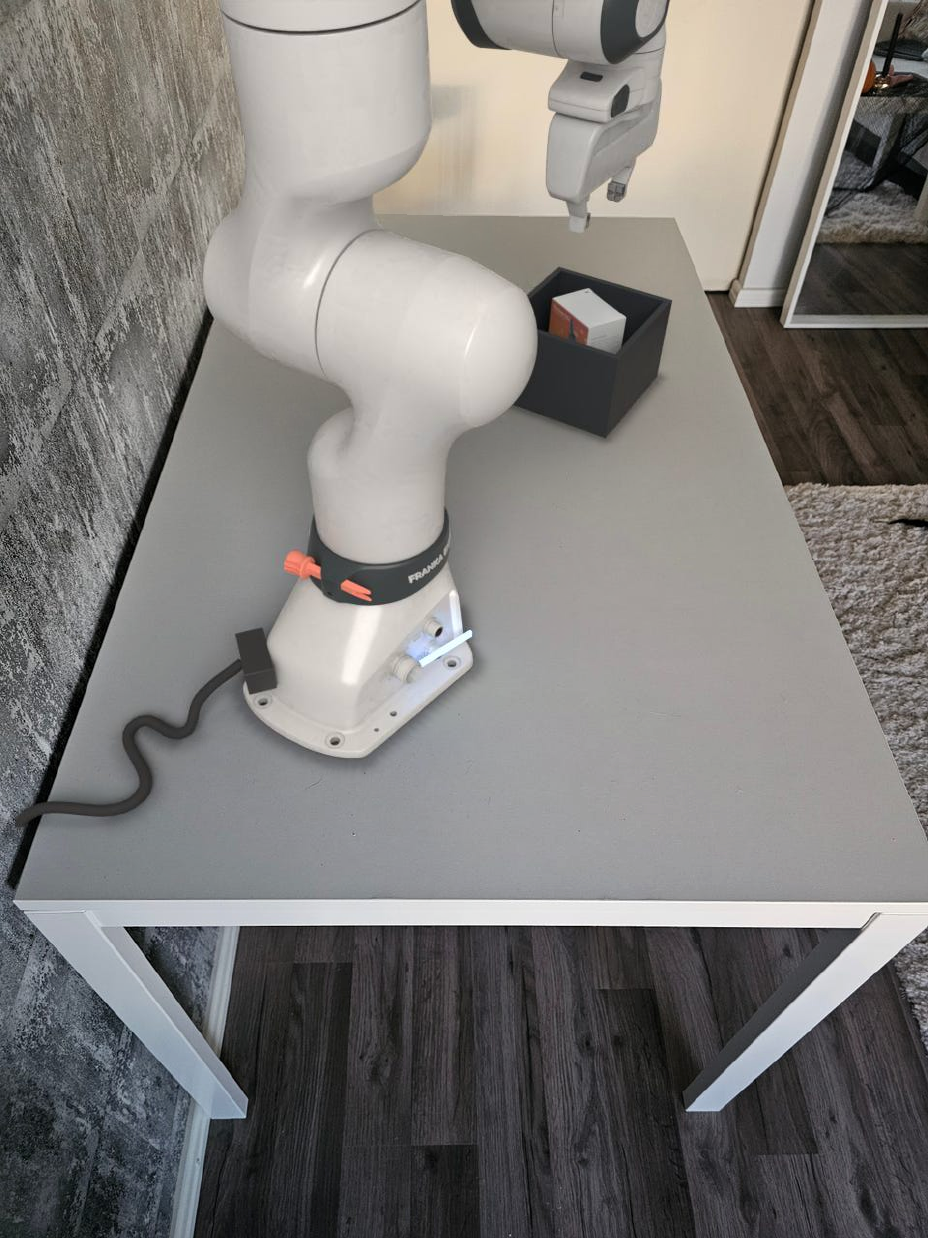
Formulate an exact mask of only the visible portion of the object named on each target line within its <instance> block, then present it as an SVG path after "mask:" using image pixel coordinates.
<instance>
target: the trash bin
mask: <svg viewBox="0 0 928 1238" xmlns="http://www.w3.org/2000/svg"><path fill="white" fill-rule="evenodd" d="M587 288H589V289H590V290H592V291H593V292H594V293H595V294H596V295H597V296H599V297H600V298H601V299H602V300H604V301H605V302H606V303H607V304H609V305H610V306H611V307H613V308H614V309H615V310H616V311H618V312H619V313H621V314H623V315H624V316H625V317H626V322H625V328H624V334H623V339H622V346H621V348H620V350H619V351H618V352H617V353H616V354H612V353H609V352H606V351H603V350H600V349H597V348H594V347H591V346H588V345H585V344H582V343H579V342H576V341H572V340H569V339H566V338H563V337H560V336H557V335H554V334H551V333H548V332H549V323H550V314H551V305H552V299H553V298H555V297H558V296H562V295H565V294H569V293H573V292H576V291H580V290H584V289H587ZM526 295H527V297H528V299H529V301H530V304H531V306H532V309H533V312H534V316H535V320H536V326H537V335H538V342H537V355H536V360H535V364H534V368H533V371H532V374H531V376H530V379H529V381H528V383H527V385H526V387H525V389H524V390H523V392H522V393H521V395H520V396H519V397H518V399H517V400H516V401H515V403H514V404H513V405H512V406H516V407H519V408H522V409H525V410H527V411H530V412H532V413H535V414H538V415H541V416H544V417H546V418H549V419H552V420H555V421H558V422H560V423H563V424H566V425H569V426H571V427H575V428H577V429H580V430H583V431H585V432H588V433H591V434H593V435H597V436H599V437H601V438H604V439H606V438H607V437H608V436H609V435H610V434H611V432H612V431H613V430H614V429H615V428H616V426H618V425H619V423H620V422H621V420H622V419H623V418H624V417H625V416H626V415H627V414H628V412H629V411H630V410H631V409H632V408H633V406H634V405H635V404H636V403H637V402H638V400H639V399H640V398H641V397H642V395H643V394H644V393H645V392H646V391H647V390H648V388H649V387H650V386H651V385H652V383H654V381H655V380H656V379H657V378H658V375H659V374H658V373H659V369H660V364H661V359H662V354H663V350H664V345H665V339H666V335H667V330H668V329H667V328H668V324H669V320H670V314H671V309H672V303H673V300H672V299H670V298H667V297H663V296H660V295H657V294H652V293H649V292H646V291H642V290H639V289H637V288H632V287H630V286H626V285H623V284H619V283H616V282H612V281H609V280H605V279H602V278H598V277H596V276H592V275H589V274H585V273H582V272H579V271H576V270H571V269H569V268H565V267H561V266H558V267H557V268H555V269H554V270H553V271H551V273H550V274H549V275H548V276H546V277H545V278H543V280H542V281H540V282H539V283H538V284H537V285H536V286H535V287H534V288H533V289H531V291H529V292H528V293H527V294H526Z"/></svg>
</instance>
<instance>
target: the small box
mask: <svg viewBox="0 0 928 1238" xmlns="http://www.w3.org/2000/svg"><path fill="white" fill-rule="evenodd" d="M625 322H626V317H625V316H624V315H623V314H621V313H619V312H618V311H616V310H615V309H614V308H613V307H611V306H610V305H609V304H607V303H606V302H605V301H604V300H602V299H601V298H600V297H599V296H597V295H596V294H595V293H594V292H593V291H592V290H590V289H589V288H587V289H584V290H580V291H576V292H573V293H569V294H565V295H562V296H558V297H555V298H553V299H552V305H551V314H550V323H549V332H548V333H551V334H554V335H557V336H560V337H563V338H566V339H569V340H572V341H576V342H579V343H582V344H585V345H588V346H591V347H594V348H597V349H600V350H603V351H606V352H609V353H612V354H616V353H617V352H618V351H619V350H620V348H621V346H622V339H623V334H624V328H625Z"/></svg>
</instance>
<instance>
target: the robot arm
mask: <svg viewBox="0 0 928 1238" xmlns="http://www.w3.org/2000/svg"><path fill="white" fill-rule="evenodd" d="M670 2H671V0H450V5H451V9H452V13H453V16H454V18H455V20H456V22H457V24H458V26H459V28H460V30H461V31H462V33H463V34H464V36H465V37H466V39H467V40H468V41H469V42H470V44H471V45H473V46H474V47H476V48H478V49H487V50H499V51H500V50H501V51H518V52H523V53H528V54H533V55H538V56H539V55H540V56H545V57H549V58H550V57H551V58H554V59H555V58H556V59H561V60H567V62H566V64H565V66H564V67H563V69H562V71H561V72H560V73H559V75H558V76H557V78H556V79H555V81H554V82H553V83H552V84H551V86H550V87H549V90H548V95H547V109H548V110H549V111H551V112H554V114H553V116H552V117H551V120H550V123H549V128H548V135H547V143H546V145H547V146H546V162H545V187H546V191H547V192H548V195H549V196H550V197H551V198H553V199H556V200H559V201H562V202H565V204H566V208H567V211H568V214H569V216H568V217H569V218H568V230H569V231H570V232H571V233H576V234H579V235H580V234H583V233H584V232H585V231H586V230H588V228H589V227H590V220H591V214H592V213H591V212H589V211H588V203H589V201H590V198H591V194H593V192H595V191H596V190H597V189H599V188H600V187H601V186H602V185H604V184H605V183H606V182H608V181H609V180H610V181H609V182H608V183H607V188H606V190H607V192H606V199H607V201H609V202H614V203H616V204H617V203H620V202H621V201H623V200H624V199H625V198H626V196H627V192H628V185H629V182H630V180H631V177H632V175H633V172H634V170H635V167H636V163H637V158H638V157H639V156H641V155H642V154H643V153H645V152H646V151H647V150H648V149H649V148H651V147H652V146H653V144H654V142H655V140H656V137H657V133H658V129H659V123H660V113H661V104H662V92H663V82H662V78H661V76H662V68H663V63H664V56H665V52H666V51H665V50H666V44H667V27H666V19H667V16H668V11H669V7H670ZM217 3H218V7H219V12H220V17H221V18H220V19H221V22H222V26H223V27H222V28H223V31H224V37H225V41H226V47H227V51H228V57H229V61H230V67H231V71H232V77H233V81H234V87H235V93H236V98H237V104H238V109H239V114H240V120H241V126H242V134H243V140H244V152H245V154H244V155H245V169H244V171H245V174H244V183H243V189H242V195H241V197H240V200H239V203H238V204H237V206H236V207H235V208H233V210H231V211H230V212H228V214H227V215H226V216H224V217H223V219H222V220H221V221H220V223H219V224H218V225H217V226H216V227H215V230H214V231H213V233H212V234H211V237H210V239H209V241H208V243H207V246H206V250H205V252H204V257H203V263H202V287H203V288H202V289H203V294H204V298H205V302H206V305H207V308H208V310H209V312H210V314H211V316H212V317H213V319H214V321H216V323H217V324H218V325H219V326H221V327H222V328H223V329H224V330H226V331H227V332H228V333H230V334H231V335H232V336H233V337H235V338H237V339H238V340H239V341H241V343H243V344H244V345H246V346H248V347H250V348H251V349H252V350H254V351H255V352H257V353H258V354H260V355H261V356H263V357H264V358H266V359H268V360H270V361H271V362H272V361H273V362H275V363H278V364H280V365H282V366H285V367H288V368H291V369H293V370H295V371H298V372H300V373H303V374H305V375H308V376H310V377H313V378H316V379H318V380H320V381H322V382H326V383H328V384H331V385H333V386H334V387H336V388H338V389H340V390H342V391H343V392H344V394H345V395H346V396H347V398H348V399H349V401H350V403H351V406H348V407H346V408H344V409H342V410H340V411H338V412H336V413H334V414H333V415H331V416H330V417H329V418H327V419H326V420H325V421H324V422H323V423H322V424H321V426H319V428H318V429H317V431H316V433H315V434H314V436H313V438H312V440H311V442H310V444H309V448H308V451H307V455H306V466H307V473H308V479H309V487H310V493H311V494H310V495H311V500H312V501H311V502H312V507H313V516H312V520H311V525H310V528H309V532H308V543H307V550H306V554H304V553H303V552H302V551H300V550H297V549H293V550H291V551H290V552H289V553H288V554H287V555H286V557H285V560H284V562H283V565H284V566H283V569H284V571H285V572H286V573H289V574H292V575H295V576H298V579H297V581H296V582H295V584H294V586H293V589H292V590H291V592H290V594H289V596H288V597H287V600H286V601H285V603H284V605H283V607H282V609H281V611H280V613H279V614H278V617H277V619H276V620H275V622H274V624H273V626H272V627H271V630H270V632H269V634H268V636H267V639H266V636H265V633H264V628H263V627H257V628H254V629H249V630H245V631H240V632H236V633H235V634H234V636H235V640H236V645H237V649H238V650H237V651H238V653H239V657H240V659H239V658H237V659H236V660H234V661H233V662H231V664H230V665H228V666H227V667H225V668H224V669H223V670H221V671H220V672H218V673H217V674H216V675H214V676H213V677H212V678H211V679H209V680H208V681H207V682H206V683H205V684H204V685H203V686H202V687H201V688H200V689H199V690H198V691H197V692H196V694H195V695H194V697H193V698H192V701H191V702H190V706H189V709H188V713H187V717H186V721H185V723H184V725H183V726H181V727H178V728H177V727H173V726H171V725H169V724H167V723H166V722H164V721H163V720H161V719H159V718H157V717H155V716H153V715H149V714H143V715H138V716H135V717H134V718H132V719H131V720H130V721H129V722H128V723H126V724H125V726H124V728H123V730H122V732H121V734H122V735H121V742H122V747H123V749H124V751H125V753H126V755H127V757H128V758H129V760H130V763H132V765H133V767H134V769H135V770H136V772H137V775H138V778H139V785H138V788H137V790H136V791H135V792H134V793H133V794H131V795H130V796H129V797H128V798H126V799H124V800H122V801H120V802H116V803H109V804H95V803H94V804H93V803H83V802H75V801H62V800H60V801H59V800H52V801H44V802H39V803H36V804H33V805H31V806H29V807H28V808H26V809H24V810H23V811H22V812H21V813H19V815H18V816H17V818H16V820H15V822H14V823H13V825H14V827H15V828H23V827H25V826H26V825H28V824H30V822H31V821H32V820H33V819H35V818H37V817H39V816H42V815H48V814H64V815H74V816H83V817H93V818H95V817H99V818H100V817H101V818H102V817H103V818H105V817H114V816H119V815H123V814H125V813H128V812H130V811H132V810H135V809H136V808H137V807H138V806H139V805H141V804H142V803H143V802H144V801H145V800H146V798H147V797H148V796H149V794H150V792H151V788H152V786H153V785H152V784H153V782H152V774H151V770H150V768H149V766H148V764H147V761H146V760H145V758H144V757H143V755H142V753H141V752H140V750H139V748H138V747H137V744H136V742H135V738H134V735H135V732H137V731H138V729H140V728H141V727H148V728H150V729H152V730H154V731H155V732H157V733H159V734H161V735H162V736H164V737H165V738H168V739H172V740H182V739H185V738H187V737H190V735H191V734H193V732H194V731H195V730H196V728H197V725H198V723H199V718H200V714H201V710H202V708H203V706H204V704H205V702H206V701H207V699H208V698H209V697H210V696H211V695H212V694H213V693H214V692H215V691H216V690H217V689H218V688H220V687H221V686H222V685H223V684H225V683H226V682H227V681H229V680H230V679H232V678H233V677H235V676H236V675H237V674H238V673H240V672H241V671H242V672H243V676H244V679H245V681H244V683H243V685H242V691H243V696H244V699H245V701H246V703H247V705H248V707H249V708H250V710H251V712H252V713H254V715H255V716H256V717H257V718H258V719H259V720H260V721H261V722H263V724H265V725H266V726H268V727H269V728H270V729H272V730H273V731H275V732H276V733H278V734H280V735H281V736H282V737H284V738H286V739H287V740H289V741H291V742H293V743H295V744H297V745H299V746H301V747H303V748H306V749H308V750H310V751H313V752H316V753H320V754H322V755H326V756H330V757H335V758H343V759H362V758H365V757H367V756H368V755H370V754H371V753H372V752H373V751H375V750H376V749H377V748H378V747H380V746H381V745H382V744H383V743H384V742H386V741H387V740H388V739H389V738H390V737H392V736H393V735H394V734H395V733H396V732H397V731H398V730H400V729H401V728H402V727H403V726H405V724H407V723H408V722H410V720H411V719H413V718H414V717H415V716H416V715H418V714H419V713H420V712H421V711H423V710H424V709H425V708H426V707H427V706H428V705H429V704H430V703H431V702H433V701H434V700H435V699H437V698H438V697H439V696H440V695H441V694H442V693H444V691H445V692H446V690H447V689H448V688H450V686H452V685H453V684H454V683H456V681H458V680H459V679H460V678H461V677H462V676H464V675H465V674H466V673H467V672H469V670H470V669H471V668H472V667H473V665H474V657H473V652H472V649H471V647H470V645H469V643H468V642H467V640H468V639H470V638H472V636H473V631H472V630H471V629H470V630H467V631H466V632H464V629H463V628H464V627H463V619H462V609H461V603H460V597H459V592H458V589H457V586H456V583H455V580H454V577H453V574H452V571H451V568H450V565H449V562H448V559H449V555H450V550H451V539H452V532H451V531H452V530H451V526H450V517H449V512H448V510H447V507H446V505H445V496H446V495H445V492H446V476H447V463H448V456H449V454H450V450H451V448H452V447H453V444H454V443H455V441H457V439H458V438H459V437H460V436H462V435H463V434H464V433H466V432H468V431H470V430H473V429H477V428H480V427H483V426H485V425H487V424H490V423H491V422H493V421H495V420H496V419H498V418H500V416H502V415H503V414H504V413H506V412H507V411H508V410H510V408H511V407H512V406H514V405H513V404H514V403H515V401H516V400H517V399H518V397H519V396H520V395H521V393H522V392H523V390H524V389H525V387H526V385H527V383H528V381H529V379H530V376H531V374H532V371H533V368H534V364H535V360H536V355H537V342H538V335H537V326H536V320H535V316H534V312H533V309H532V306H531V304H530V301H529V299H528V297H527V294H526V292H525V291H524V290H523V289H521V287H519V286H517V285H515V284H514V283H513V282H510V281H509V280H508V279H507V278H506V279H505V278H504V277H503V276H501V275H499V274H498V273H496V272H495V271H493V270H491V269H489V268H487V267H486V266H484V265H482V264H480V263H479V262H477V261H475V260H474V259H472V258H470V257H468V256H466V255H462V254H459V253H457V252H453V251H450V250H447V249H444V248H441V247H437V246H434V245H431V244H428V243H424V242H421V241H417V240H414V239H412V238H408V237H406V236H405V237H404V236H402V235H398V234H395V233H392V232H391V231H389V230H388V229H385V228H383V227H382V226H381V224H380V223H379V221H378V218H377V217H376V214H375V210H374V195H375V194H377V193H379V192H381V191H384V190H386V189H387V188H389V187H391V186H392V185H394V184H396V183H398V182H399V181H400V180H402V179H403V178H404V177H405V176H406V175H408V173H410V172H411V171H412V170H413V168H414V167H415V165H417V164H418V162H419V160H420V158H421V156H422V155H423V153H424V151H425V148H426V146H427V144H428V142H429V138H430V134H431V132H432V128H433V122H434V115H433V113H434V112H433V97H432V77H431V62H430V61H431V59H430V43H429V27H428V10H427V9H428V7H427V0H217ZM262 704H264V705H262ZM333 743H338V744H333Z"/></svg>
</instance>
